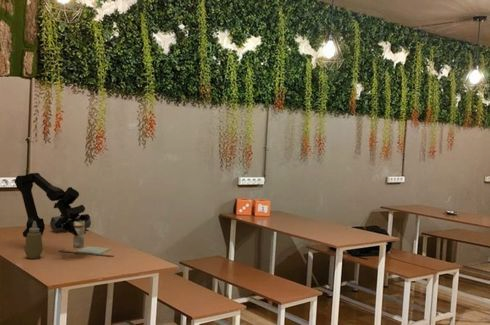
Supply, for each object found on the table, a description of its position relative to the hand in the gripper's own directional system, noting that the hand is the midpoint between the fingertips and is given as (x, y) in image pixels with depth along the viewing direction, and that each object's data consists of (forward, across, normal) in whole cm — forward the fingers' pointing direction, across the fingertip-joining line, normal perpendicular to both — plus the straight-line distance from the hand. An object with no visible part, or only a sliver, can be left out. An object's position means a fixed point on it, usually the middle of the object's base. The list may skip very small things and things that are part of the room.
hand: (81, 234), depth 259 cm
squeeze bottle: (-3, -14, +20) cm, 25 cm away
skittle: (+4, 0, +6) cm, 7 cm away
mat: (+4, +16, +13) cm, 21 cm away
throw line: (+6, +8, +11) cm, 15 cm away
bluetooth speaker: (-30, +45, +47) cm, 72 cm away
